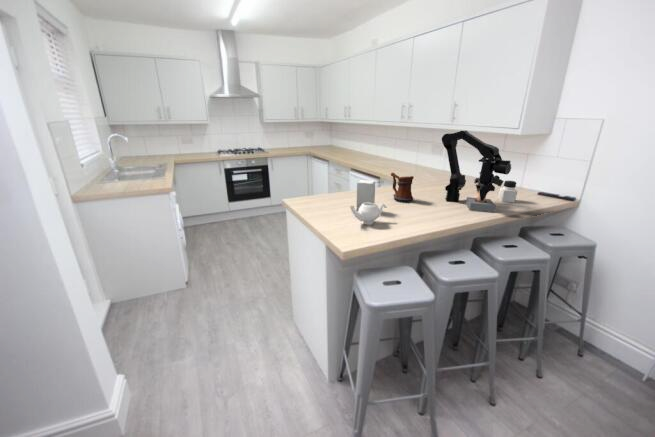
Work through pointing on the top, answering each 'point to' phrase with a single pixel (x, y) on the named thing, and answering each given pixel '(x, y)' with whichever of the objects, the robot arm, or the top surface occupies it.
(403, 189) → the mug
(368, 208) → the teapot
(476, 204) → the socket block
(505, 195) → the medicine bottle
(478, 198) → the peg
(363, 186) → the skincare box
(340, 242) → the top surface
